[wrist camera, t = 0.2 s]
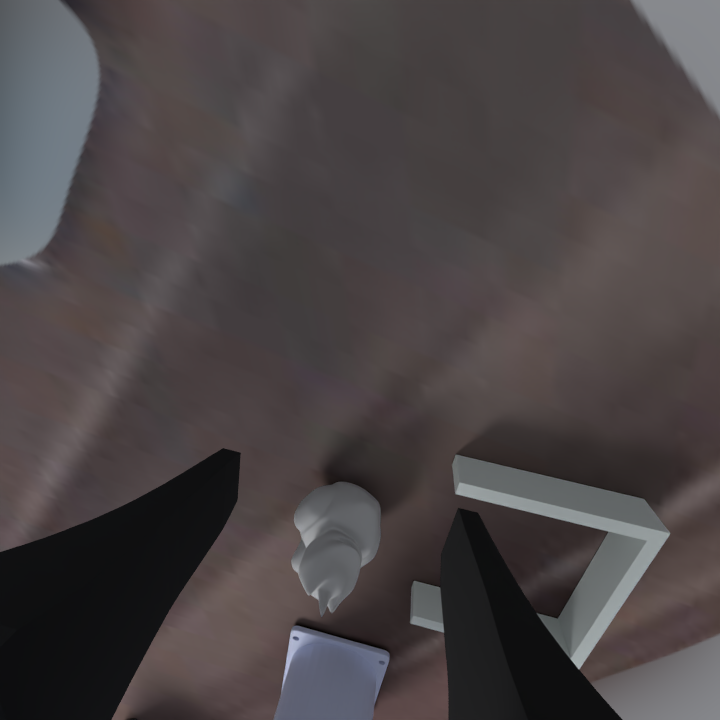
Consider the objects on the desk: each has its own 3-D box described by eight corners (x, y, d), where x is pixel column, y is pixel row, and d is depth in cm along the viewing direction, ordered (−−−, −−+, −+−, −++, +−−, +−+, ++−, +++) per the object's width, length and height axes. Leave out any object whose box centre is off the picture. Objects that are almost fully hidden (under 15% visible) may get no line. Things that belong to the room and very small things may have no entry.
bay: (565, 629, 26) (578, 669, 24) (411, 588, 27) (410, 623, 25) (644, 498, 21) (670, 533, 19) (455, 454, 22) (459, 482, 20)
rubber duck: (406, 504, 24) (399, 631, 17) (340, 551, 27) (309, 680, 19) (344, 450, 24) (308, 560, 16) (282, 504, 26) (226, 620, 19)
